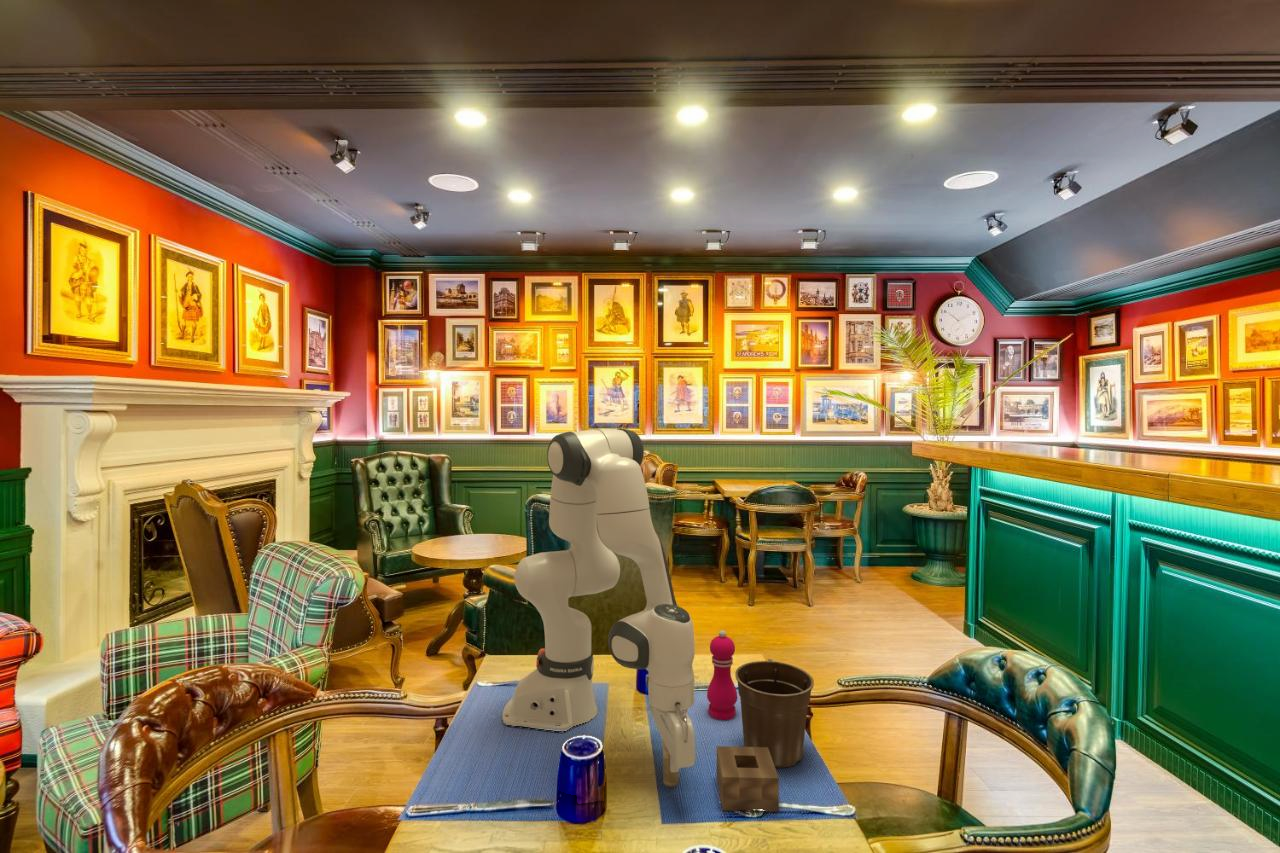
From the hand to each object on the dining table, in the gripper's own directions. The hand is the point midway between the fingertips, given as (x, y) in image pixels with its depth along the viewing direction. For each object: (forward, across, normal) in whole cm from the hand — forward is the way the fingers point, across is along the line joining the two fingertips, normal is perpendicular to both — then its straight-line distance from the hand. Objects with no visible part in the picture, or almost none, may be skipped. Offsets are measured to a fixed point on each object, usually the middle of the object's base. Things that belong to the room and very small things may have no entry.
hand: (670, 763), depth 112 cm
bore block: (+4, -6, -13) cm, 15 cm away
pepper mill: (+4, +23, -19) cm, 30 cm away
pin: (+4, 0, 0) cm, 4 cm away
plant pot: (+4, +6, -24) cm, 25 cm away
